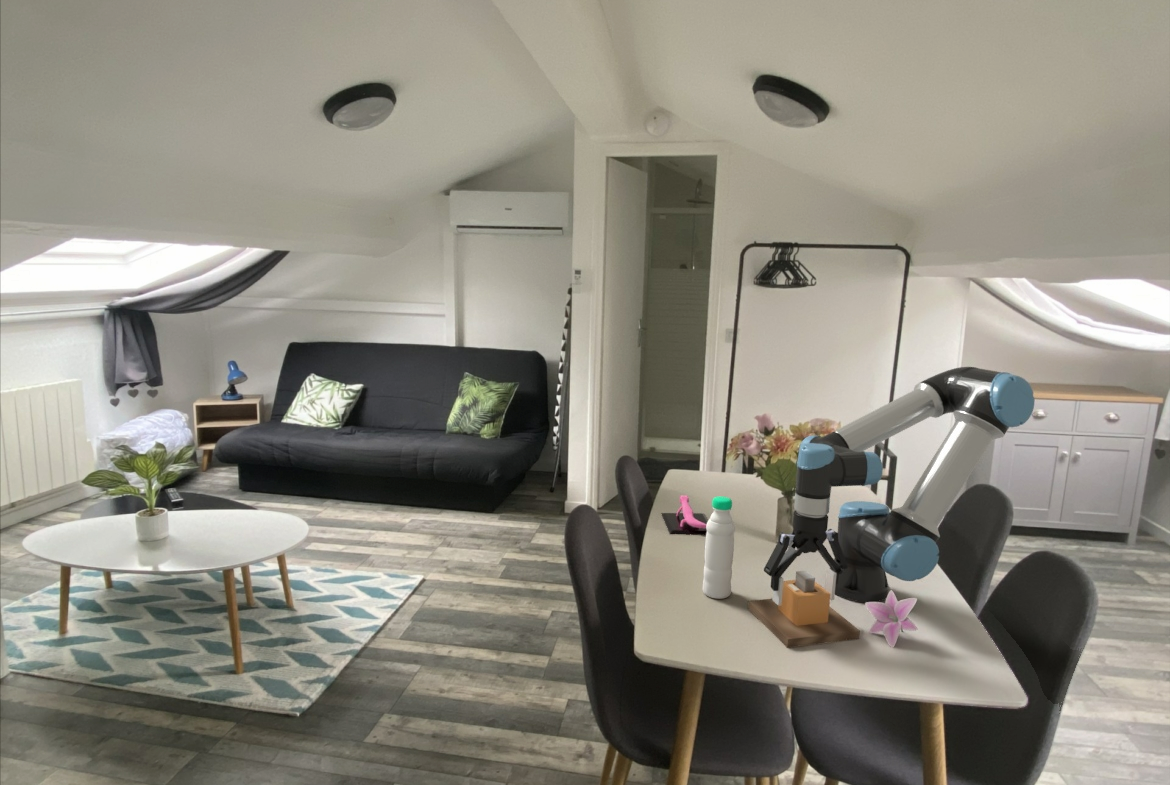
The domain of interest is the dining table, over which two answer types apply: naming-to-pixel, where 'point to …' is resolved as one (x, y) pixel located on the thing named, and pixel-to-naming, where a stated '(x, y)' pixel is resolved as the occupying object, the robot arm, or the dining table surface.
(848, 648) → the dining table surface
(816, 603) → the orange slotted box
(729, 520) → the water bottle
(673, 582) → the dining table surface
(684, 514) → the lizard figurine
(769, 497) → the dining table surface
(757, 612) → the board
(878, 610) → the lily
